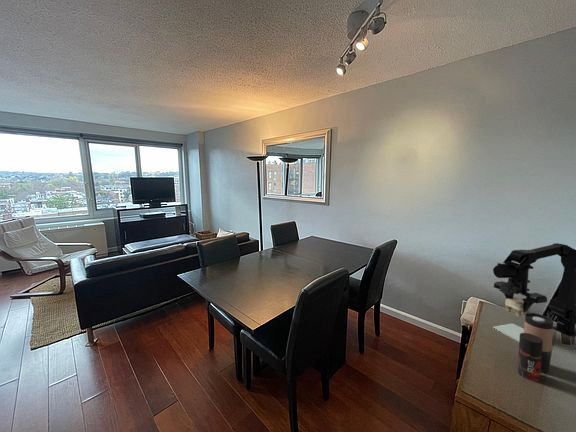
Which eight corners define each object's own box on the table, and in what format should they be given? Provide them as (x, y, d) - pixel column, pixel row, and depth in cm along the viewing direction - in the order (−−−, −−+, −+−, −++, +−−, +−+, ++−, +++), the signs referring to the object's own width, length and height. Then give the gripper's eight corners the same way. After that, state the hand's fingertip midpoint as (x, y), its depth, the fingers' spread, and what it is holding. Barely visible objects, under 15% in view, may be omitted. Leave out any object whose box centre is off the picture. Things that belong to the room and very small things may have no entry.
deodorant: (533, 370, 90) (535, 334, 88) (544, 382, 84) (547, 344, 83) (513, 367, 92) (516, 331, 90) (523, 379, 86) (525, 341, 85)
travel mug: (536, 359, 96) (540, 312, 94) (556, 373, 88) (560, 323, 86) (516, 358, 97) (519, 312, 95) (534, 372, 89) (537, 323, 87)
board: (512, 324, 120) (512, 323, 120) (541, 339, 108) (541, 337, 108) (493, 328, 118) (493, 326, 118) (520, 342, 106) (520, 341, 106)
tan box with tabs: (514, 309, 116) (515, 297, 116) (529, 315, 110) (530, 303, 110) (504, 310, 115) (505, 298, 115) (518, 316, 109) (519, 304, 109)
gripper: (485, 272, 119) (483, 301, 120) (528, 286, 100) (526, 320, 102) (503, 270, 121) (501, 299, 122) (549, 284, 102) (546, 317, 104)
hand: (517, 308), depth 112 cm, fingers closed on tan box with tabs, 6 cm apart
